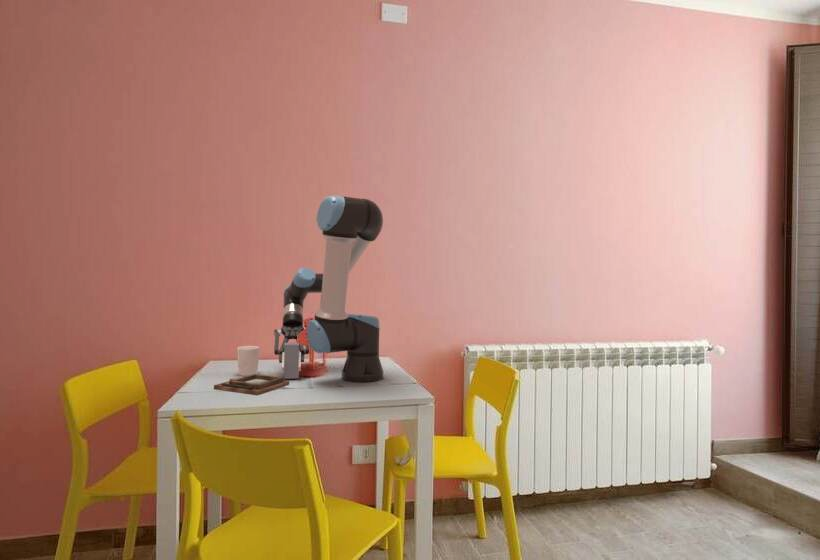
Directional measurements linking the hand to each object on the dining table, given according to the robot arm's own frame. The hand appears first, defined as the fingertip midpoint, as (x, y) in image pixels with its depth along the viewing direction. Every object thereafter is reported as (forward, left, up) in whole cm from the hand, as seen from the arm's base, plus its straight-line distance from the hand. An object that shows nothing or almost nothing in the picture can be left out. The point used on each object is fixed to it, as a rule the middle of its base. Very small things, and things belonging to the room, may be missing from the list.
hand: (291, 369), depth 179 cm
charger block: (+2, -3, -4) cm, 5 cm away
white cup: (+21, -2, -4) cm, 22 cm away
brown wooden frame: (+6, +13, -4) cm, 15 cm away
